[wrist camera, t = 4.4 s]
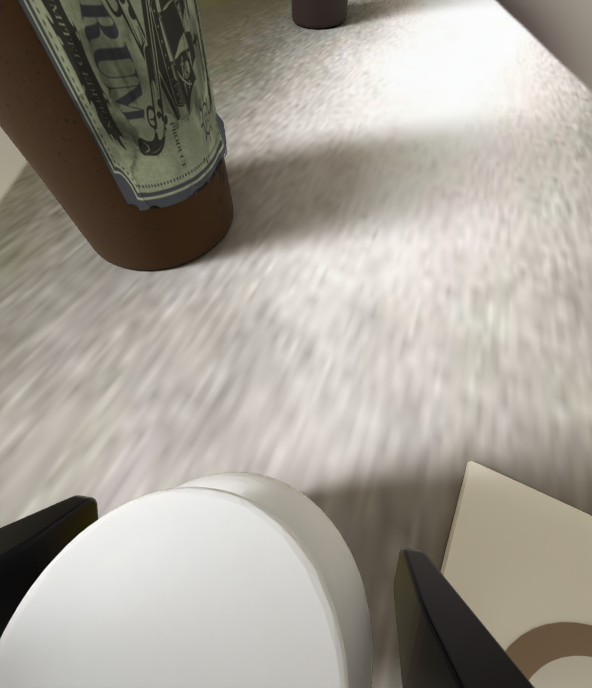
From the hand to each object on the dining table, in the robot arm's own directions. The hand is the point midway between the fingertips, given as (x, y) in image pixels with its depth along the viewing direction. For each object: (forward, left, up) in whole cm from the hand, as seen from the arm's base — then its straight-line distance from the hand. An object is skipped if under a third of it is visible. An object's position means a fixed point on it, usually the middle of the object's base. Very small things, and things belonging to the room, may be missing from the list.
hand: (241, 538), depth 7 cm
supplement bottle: (-1, -1, -7) cm, 7 cm away
